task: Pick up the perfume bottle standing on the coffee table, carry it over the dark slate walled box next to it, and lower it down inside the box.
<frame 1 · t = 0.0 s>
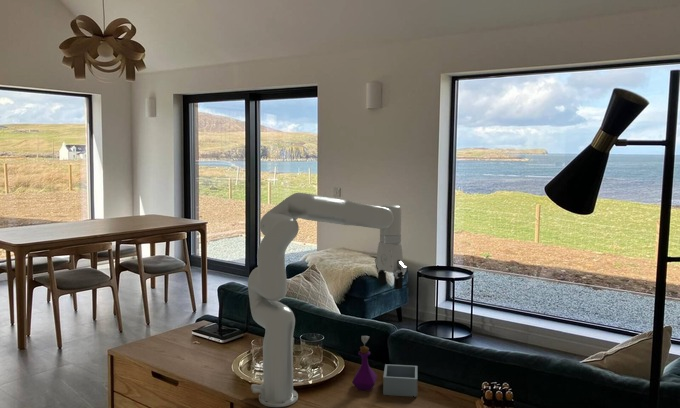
hand: (389, 286, 203), 31 cm above the table, tool pointing down, fingers open, 9 cm apart
perfume bottle: (364, 388, 190), on the table
walled box: (400, 388, 190), on the table
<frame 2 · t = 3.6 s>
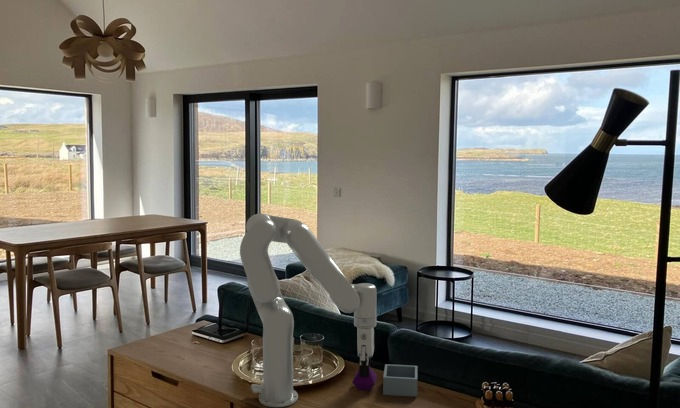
hand: (365, 372, 190), 5 cm above the table, tool pointing down, fingers closed on perfume bottle, 4 cm apart
perfume bottle: (364, 388, 190), on the table, touching gripper
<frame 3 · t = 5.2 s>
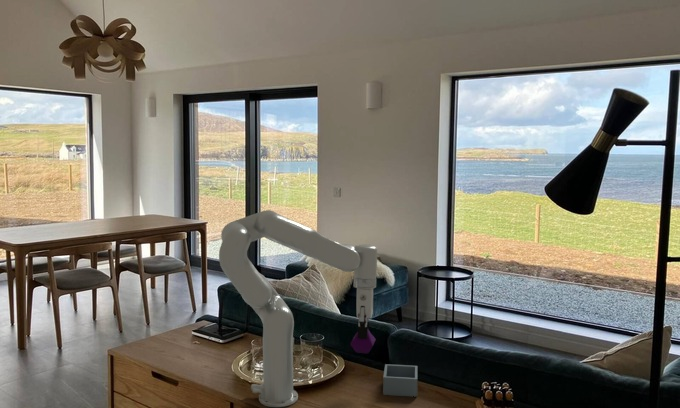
hand: (363, 335, 188), 19 cm above the table, tool pointing down, fingers closed on perfume bottle, 4 cm apart
perfume bottle: (362, 351, 189), point 13 cm above the table, touching gripper
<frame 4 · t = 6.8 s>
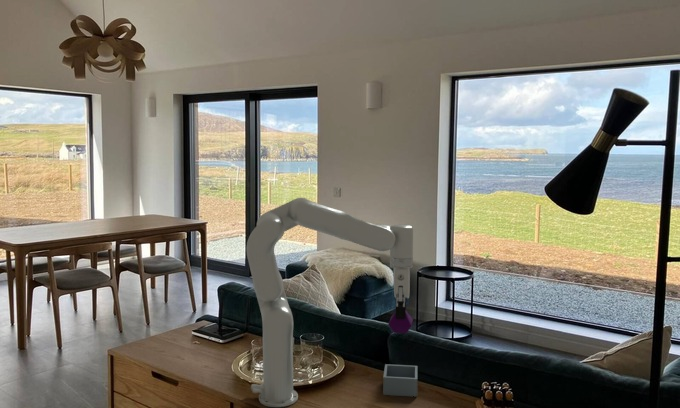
hand: (400, 315, 187), 25 cm above the table, tool pointing down, fingers closed on perfume bottle, 4 cm apart
perfume bottle: (400, 331, 188), point 20 cm above the table, touching gripper
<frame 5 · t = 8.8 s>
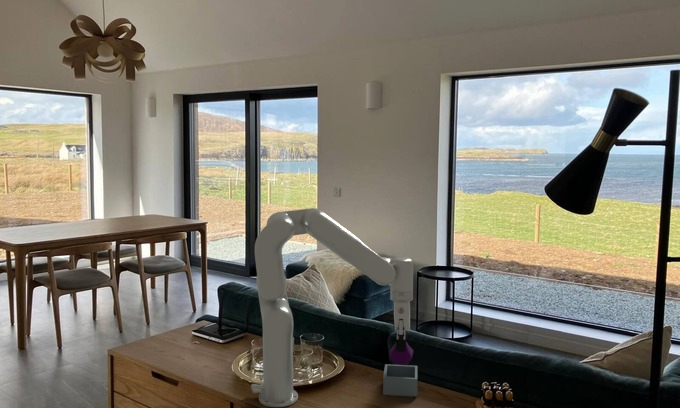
hand: (401, 347, 189), 14 cm above the table, tool pointing down, fingers closed on perfume bottle, 4 cm apart
perfume bottle: (401, 363, 189), point 9 cm above the table, touching gripper
when the fingers open (8 cm above the table, at t = 10.5 s): perfume bottle drops 2 cm, resting on walled box.
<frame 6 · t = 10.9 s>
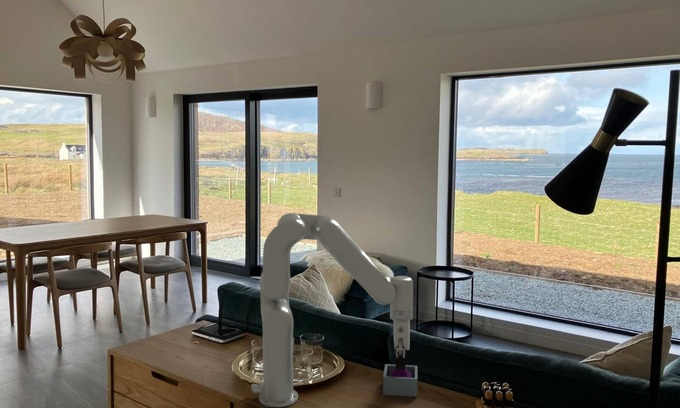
hand: (400, 363, 189), 9 cm above the table, tool pointing down, fingers open, 9 cm apart
perfume bottle: (399, 388, 189), resting on walled box
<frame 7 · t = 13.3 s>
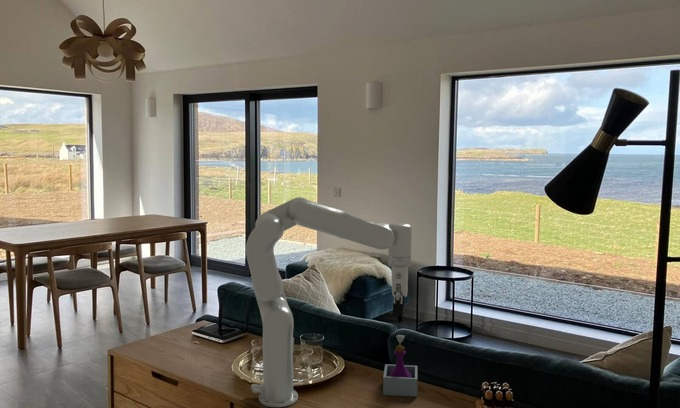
hand: (398, 311, 188), 27 cm above the table, tool pointing down, fingers open, 9 cm apart
nothing on the table moved.
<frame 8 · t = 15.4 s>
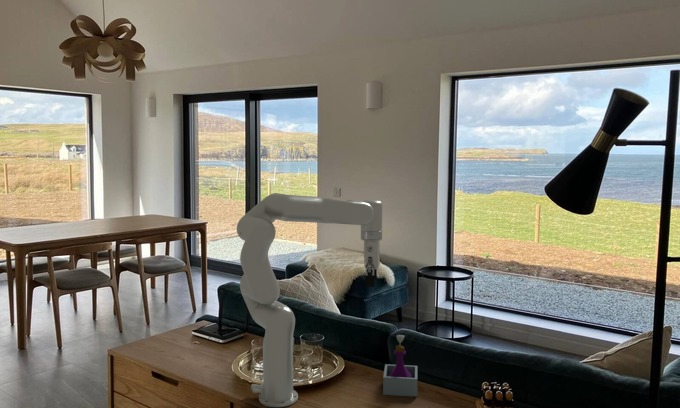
hand: (371, 283, 199), 33 cm above the table, tool pointing down, fingers open, 9 cm apart
nothing on the table moved.
at the end: perfume bottle 0.6 cm off-centre on the walled box, point 0.4 cm above the walled box's base; perfume bottle tilted 0°; the gripper is holding nothing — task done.
